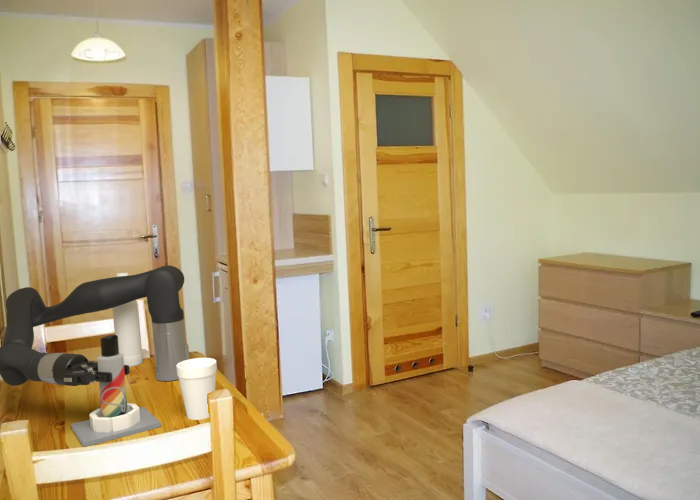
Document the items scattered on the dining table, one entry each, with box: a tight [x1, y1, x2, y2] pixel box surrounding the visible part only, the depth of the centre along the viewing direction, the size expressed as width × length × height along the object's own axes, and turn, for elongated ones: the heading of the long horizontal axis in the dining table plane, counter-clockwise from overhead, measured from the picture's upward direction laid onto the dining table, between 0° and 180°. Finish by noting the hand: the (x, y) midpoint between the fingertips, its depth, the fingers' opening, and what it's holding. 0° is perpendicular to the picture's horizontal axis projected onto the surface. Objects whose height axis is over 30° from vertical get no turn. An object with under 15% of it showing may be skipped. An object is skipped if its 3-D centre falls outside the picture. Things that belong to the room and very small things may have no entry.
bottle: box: [111, 271, 144, 368], centre depth 194 cm, size 8×8×30 cm
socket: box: [70, 402, 162, 448], centre depth 141 cm, size 17×14×4 cm
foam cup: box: [176, 357, 218, 421], centre depth 146 cm, size 10×9×13 cm
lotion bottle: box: [96, 334, 128, 418], centre depth 140 cm, size 6×6×20 cm
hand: (119, 373), depth 139 cm, fingers closed on lotion bottle, 5 cm apart
